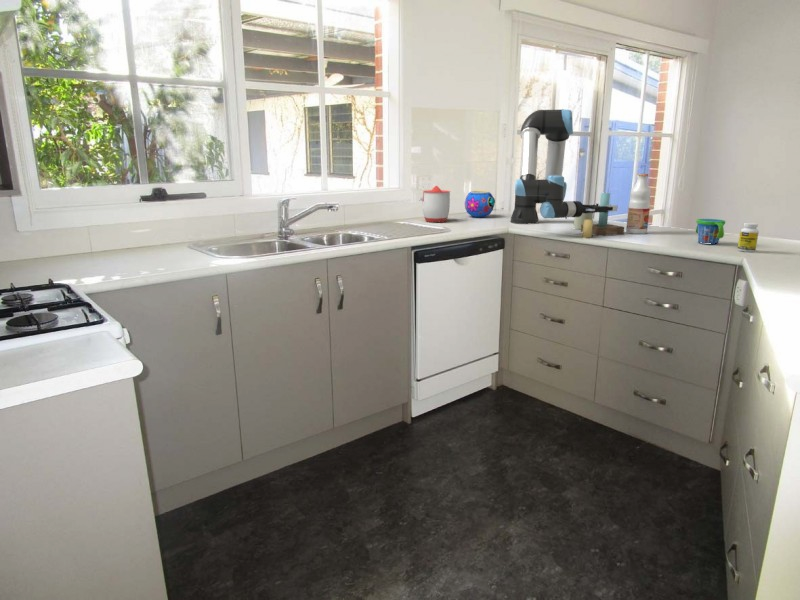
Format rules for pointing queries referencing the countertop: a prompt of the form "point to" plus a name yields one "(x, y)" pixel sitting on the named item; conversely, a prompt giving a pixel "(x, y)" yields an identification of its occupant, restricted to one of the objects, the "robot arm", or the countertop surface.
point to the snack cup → (710, 230)
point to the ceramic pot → (479, 203)
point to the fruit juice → (639, 206)
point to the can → (582, 219)
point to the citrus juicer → (436, 204)
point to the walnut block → (606, 229)
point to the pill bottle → (748, 237)
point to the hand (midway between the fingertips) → (613, 207)
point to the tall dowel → (602, 215)
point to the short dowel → (587, 228)
